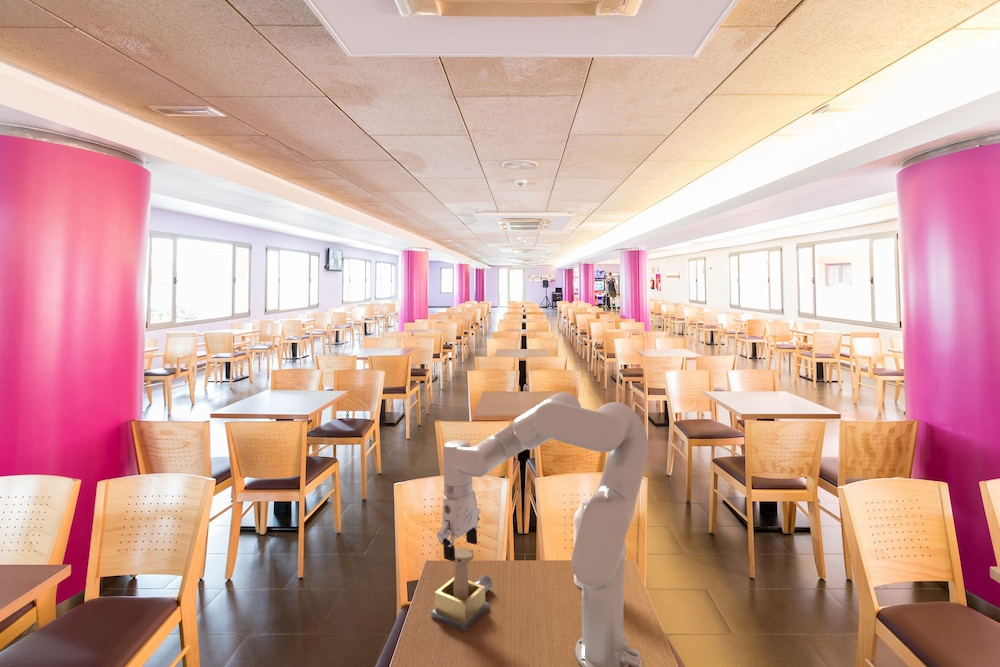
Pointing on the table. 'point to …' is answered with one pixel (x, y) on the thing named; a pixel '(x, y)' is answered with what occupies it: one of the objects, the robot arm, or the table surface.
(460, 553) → the handle
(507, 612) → the table surface
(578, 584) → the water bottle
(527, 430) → the robot arm
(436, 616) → the socket
